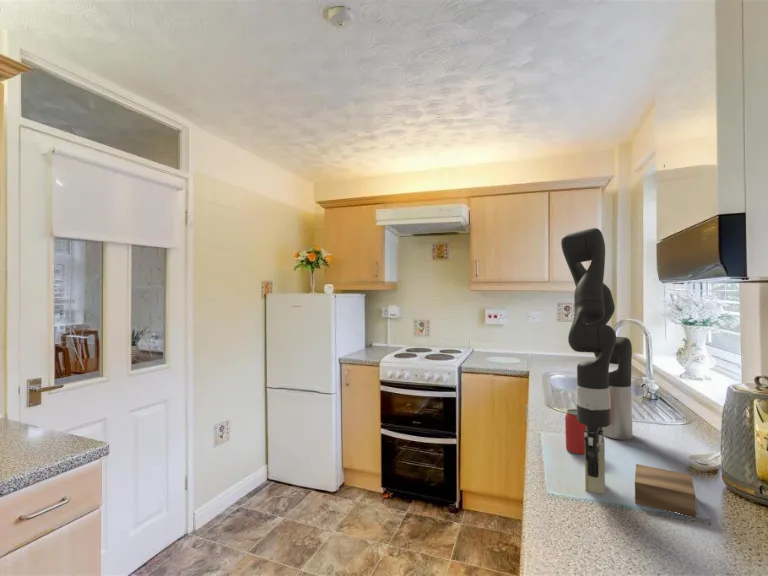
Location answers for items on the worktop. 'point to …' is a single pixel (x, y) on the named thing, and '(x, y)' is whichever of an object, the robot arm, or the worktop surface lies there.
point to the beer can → (574, 433)
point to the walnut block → (665, 490)
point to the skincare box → (599, 482)
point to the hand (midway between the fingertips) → (594, 470)
